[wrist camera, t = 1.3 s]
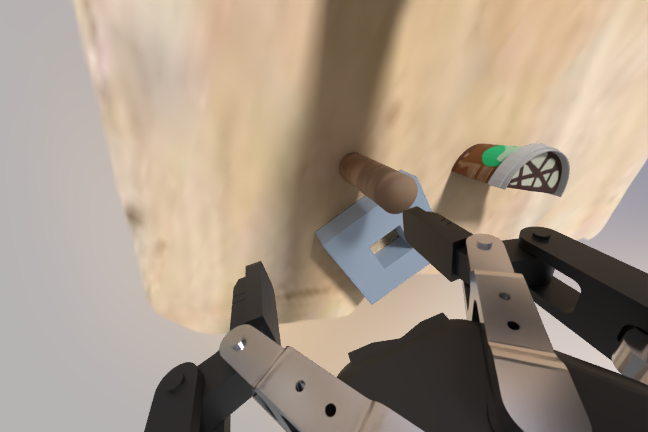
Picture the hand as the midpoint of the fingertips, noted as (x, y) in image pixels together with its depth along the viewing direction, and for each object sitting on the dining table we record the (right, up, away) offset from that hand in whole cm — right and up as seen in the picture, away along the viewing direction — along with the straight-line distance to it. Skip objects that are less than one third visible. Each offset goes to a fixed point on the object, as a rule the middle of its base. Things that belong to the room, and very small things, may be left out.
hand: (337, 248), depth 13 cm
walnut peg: (+3, +9, +21) cm, 23 cm away
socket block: (+9, -2, +27) cm, 29 cm away
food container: (+25, +12, +26) cm, 38 cm away
